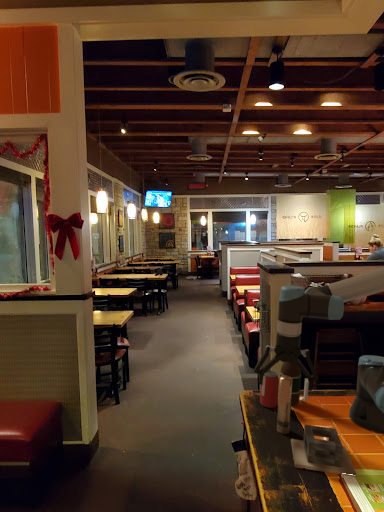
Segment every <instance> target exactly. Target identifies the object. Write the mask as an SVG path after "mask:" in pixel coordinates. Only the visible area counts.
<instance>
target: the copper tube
mask: <svg viewBox="0 0 384 512" xmlns="http://www.w3.org/2000/svg"><path fill="white" fill-rule="evenodd" d="M291 394H292V377H290V376H287V375H282V376H280V375H279V388H278V404H277V418H276V431H277V433H280V434H283V435H287V433H288V434H290V425H291V411H292V410H291V408H292V407H291V406H292V405H291Z"/></svg>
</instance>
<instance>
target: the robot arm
mask: <svg viewBox="0 0 384 512" xmlns="http://www.w3.org/2000/svg"><path fill="white" fill-rule="evenodd" d="M279 292H280V293H279V298H278V311H277V324H276V325H277V328H276V331H277V333H276V339H275V340H276V341H275V346H271V345H270V344H266V346H265V350H264V352H263V354H262V355H261V356H260V358H259V360H258V362H257V363H256V365H255V367H254V368H253V369H254V370H253V371H254V373H255V374H258V375H259V377H258V384H259V385H260V386H261V385H262V396H264V391H265V377H266V376H265V373H266V372H267V371H270V369H272V368H273V367H274V366H275V365H276V364H278V363H279V362H280V361H281V362H282V363H284V362H289V363H292V362H295V363H296V364H297V365H298V367H299V368H300V369H301V373H303V375H304V376H305V377H306V378H304V386H303V387H304V388H303V401H304V402H308V395H309V392H311V391H312V389H313V388H312V387H313V382H314V381H319V376H318V374H317V371H316V369H315V367H314V364H313V362H312V360H311V352H310V350H309V349H308V348H305V349H301V338H302V337H301V335H302V326H303V325H302V324H303V323H302V322H303V318H314V319H321V320H329V321H331V320H332V321H333V320H334V321H335V320H336V321H339V320H341V319H342V318H343V316H344V310H345V306H344V305H345V304H344V303H347V302H350V301H354V300H357V299H361V298H364V297H368V296H371V295H375V294H379V293H383V292H384V267H383V268H382V267H381V268H379V269H376V270H372V271H368V272H366V273H362V274H359V275H355V276H353V277H348V278H345V279H342V280H339V281H336V282H332V283H329V284H325V285H322V286H316V287H315V286H312V287H308V288H306V290H305V289H304V287H303V286H297V285H283V286H281V287H280V290H279ZM273 352H274V353H275V355H274V356H273V357H272V358H271V359H270V360H269V361H268V362H267V363H266V364H265V365H264V363H265V362H266V360H267V359H268V357H269V356H270V354H272V353H273ZM301 355H302V356H303V358H305V359H306V362H307V364H308V367H309V369H310V371H311V373H312V374H310V372H309V371H308V369H306V367H305V366H304V364H303V363H302V362H301V360H300V359H299V357H301ZM263 365H264V366H263ZM262 366H263V367H262ZM348 416H349V418H350V421H352V422H353V423H354V424H356V425H357V426H359V427H361V428H362V429H366V430H367V431H371V432H375V433H383V434H384V356H379V355H373V354H371V355H369V354H366V355H361V356H360V357H359V358H358V364H357V379H356V393H355V398H354V399H353V401H352V403H351V406H350V408H349V414H348Z"/></svg>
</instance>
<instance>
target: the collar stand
mask: <svg viewBox="0 0 384 512" xmlns="http://www.w3.org/2000/svg"><path fill="white" fill-rule="evenodd" d="M303 428H304V429H303V440H302V439H295V438H291V439H290V444H291V450H292V451H291V452H292V457H293V462H294V467H295V468H298V469H303V468H305V469H304V470H310V471H311V470H312V471H318V472H322V473H323V472H324V473H330V474H336V475H337V474H338V475H342V473H346V474H353V475H356V476H357V471H356V469H355V467H354V465H353V462H352V459H351V457H350V455H349V451H348V450H347V448H346V446H345V445H343V444H342V440H341V438H340V435H339V433H338V431H337V429H336V428H335V427H334V428H333V427H325V426H318V425H317V426H316V425H310V424H304V427H303ZM316 437H322V438H328V439H321V438H316Z"/></svg>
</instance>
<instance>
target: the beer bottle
mask: <svg viewBox="0 0 384 512" xmlns="http://www.w3.org/2000/svg"><path fill="white" fill-rule="evenodd" d="M282 375H287V376H290V377H292V394H291V406H295V405H298V403H299V402H300V394H301V380H302V371H301V369H300V368H299V367H298V365H297V364H296V363H295V362H292V363H289V362H282V365H281V367H280V374H279V377H280V376H282Z"/></svg>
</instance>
